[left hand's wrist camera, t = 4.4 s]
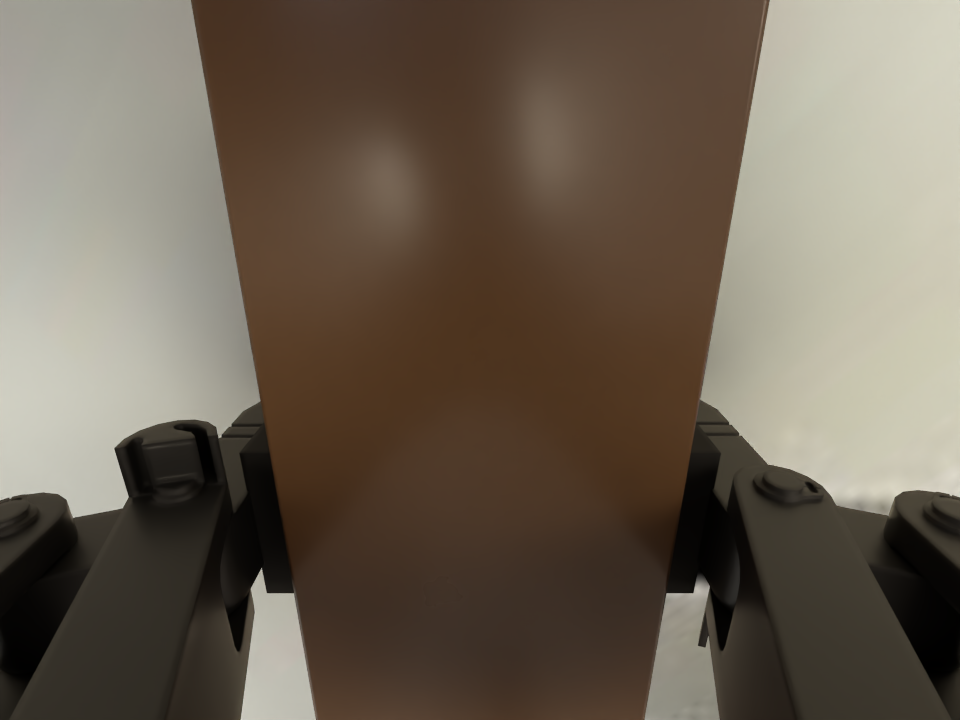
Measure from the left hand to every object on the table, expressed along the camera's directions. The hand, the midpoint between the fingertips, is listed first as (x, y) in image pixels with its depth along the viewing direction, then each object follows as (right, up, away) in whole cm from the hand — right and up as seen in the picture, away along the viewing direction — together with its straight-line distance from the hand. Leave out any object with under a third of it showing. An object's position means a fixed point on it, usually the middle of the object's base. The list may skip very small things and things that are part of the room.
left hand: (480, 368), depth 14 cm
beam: (0, -18, +8) cm, 20 cm away
